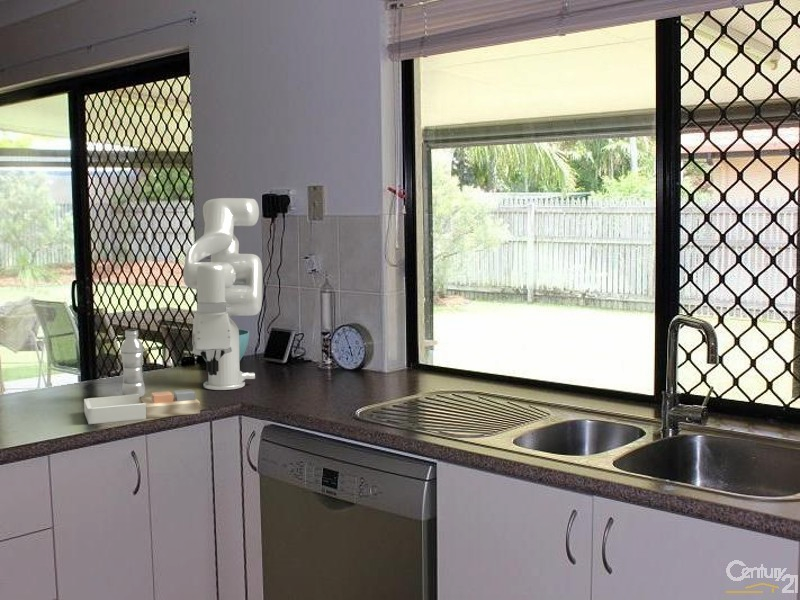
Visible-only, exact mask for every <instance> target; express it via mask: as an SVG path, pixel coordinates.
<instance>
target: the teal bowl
mask: <svg viewBox="0 0 800 600" xmlns="http://www.w3.org/2000/svg"><path fill="white" fill-rule="evenodd" d="M238 330H239V363H240V362H241V360H242V359H243V357H244V355H245V353H246V351H247V348H248V344H249V339H250V331H249V330H246V329H242V328H238ZM200 351H204V350H200ZM202 358H203V360H204V362H205V363H207V360H206V359H205V358H204V357H203V356H202Z"/></svg>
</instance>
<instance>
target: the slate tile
mask: <svg viewBox="0 0 800 600" xmlns="http://www.w3.org/2000/svg"><path fill="white" fill-rule="evenodd" d="M173 395H174V399H175V400H176V401H189V400H195V398H196V391H194V390H193V389H192V388H191V389H189V388H188V389H179V390H178V389H177V390H173Z"/></svg>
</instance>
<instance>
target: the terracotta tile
mask: <svg viewBox="0 0 800 600" xmlns="http://www.w3.org/2000/svg"><path fill="white" fill-rule="evenodd" d="M150 394H151V395H150V397H151V400H152V401H153V402H154V403H166V402H173V395H174V393H172V392H171V390H164V391H156V392H152V391H151V393H150Z"/></svg>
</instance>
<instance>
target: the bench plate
mask: <svg viewBox="0 0 800 600" xmlns="http://www.w3.org/2000/svg"><path fill="white" fill-rule="evenodd" d="M139 402H140V404H141V403H145V404H146V419H153V418H164V417H174V416H176V417H177V416H184V415H197V414H201V402H200V401H199V399H197V398H196V397H195V400H189V401H176V400H175V399H174V394H173V402H166V403H154V402H153V401H152V400H151V396H147V397H139Z"/></svg>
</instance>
